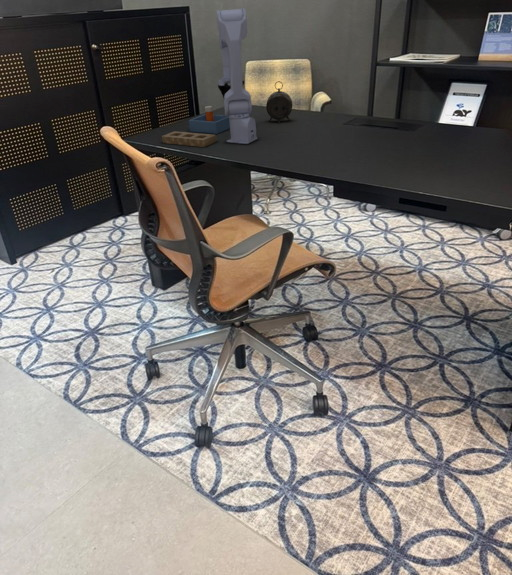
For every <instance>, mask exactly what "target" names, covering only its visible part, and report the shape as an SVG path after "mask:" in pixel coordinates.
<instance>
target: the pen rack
mask: <svg viewBox="0 0 512 575" xmlns="http://www.w3.org/2000/svg"><path fill="white" fill-rule="evenodd" d="M216 135H217V134H212V133H200V132H188V131H187V132H186V131H176V130H175V131H174V130H173V131H171V132H168V133H166V134H164V135H161V140H162V143H163V144H169V145H170V144H171V145H179V146H188V147H189V146H190V147H200V148H206V147H207V146H210V145H212V144H214V143H216V142H217V136H216Z"/></svg>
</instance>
